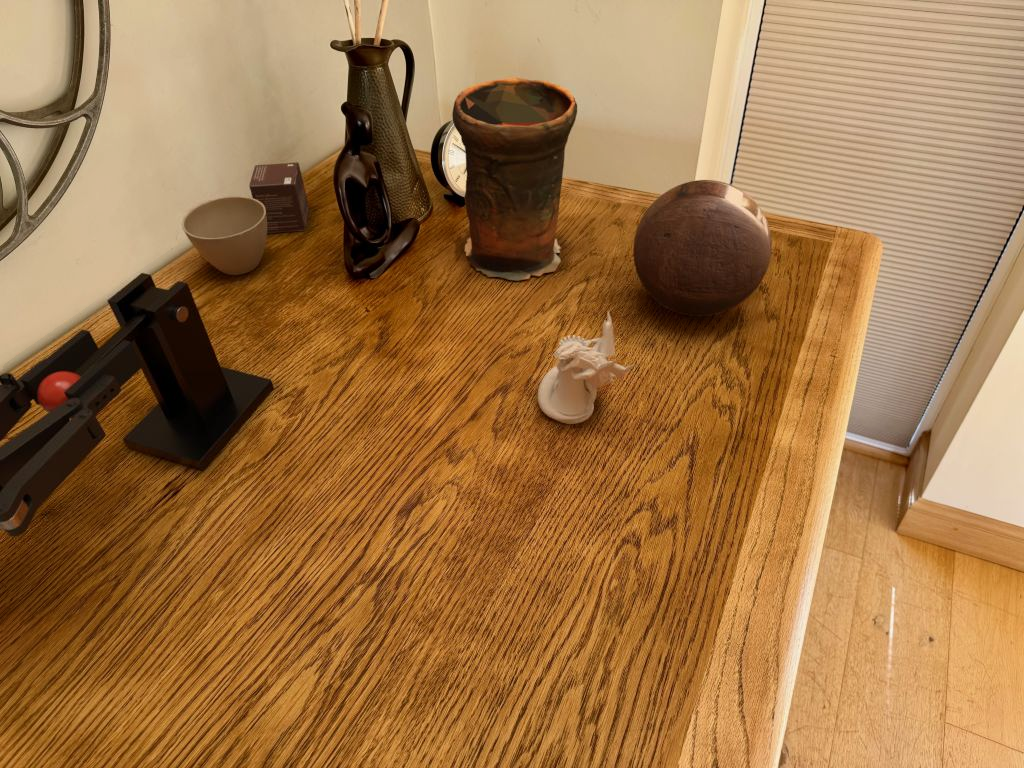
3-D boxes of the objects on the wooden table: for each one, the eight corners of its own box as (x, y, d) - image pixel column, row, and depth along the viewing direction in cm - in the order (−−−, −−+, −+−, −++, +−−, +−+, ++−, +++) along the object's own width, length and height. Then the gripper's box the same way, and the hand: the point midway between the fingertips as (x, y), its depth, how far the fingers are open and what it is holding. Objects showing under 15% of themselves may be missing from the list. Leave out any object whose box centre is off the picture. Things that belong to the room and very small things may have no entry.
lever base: (203, 471, 69) (142, 344, 58) (127, 448, 71) (54, 321, 60) (274, 388, 77) (232, 263, 66) (204, 370, 79) (152, 246, 68)
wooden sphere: (768, 343, 81) (803, 225, 71) (634, 343, 81) (649, 226, 71) (741, 266, 92) (767, 155, 82) (622, 267, 92) (634, 156, 82)
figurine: (523, 399, 75) (522, 307, 67) (582, 371, 78) (588, 279, 70) (587, 465, 69) (595, 372, 60) (649, 431, 72) (664, 338, 63)
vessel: (579, 227, 99) (587, 79, 86) (560, 288, 89) (565, 131, 75) (477, 216, 102) (469, 71, 88) (448, 274, 92) (434, 120, 78)
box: (267, 212, 104) (254, 164, 99) (310, 209, 104) (299, 161, 99) (261, 234, 99) (247, 185, 94) (306, 231, 100) (294, 182, 95)
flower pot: (185, 266, 94) (166, 217, 89) (252, 235, 99) (237, 187, 94) (226, 297, 89) (208, 247, 84) (294, 262, 94) (281, 213, 89)
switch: (76, 430, 57) (53, 399, 54) (41, 419, 58) (17, 388, 55) (188, 317, 66) (174, 286, 64) (156, 309, 67) (141, 278, 65)
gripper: (-205, 574, 50) (55, 360, 66) (-23, 651, 46) (209, 402, 61) (-290, 508, 45) (15, 293, 61) (-93, 588, 40) (179, 333, 56)
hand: (112, 348), depth 61 cm, fingers closed on switch, 4 cm apart
